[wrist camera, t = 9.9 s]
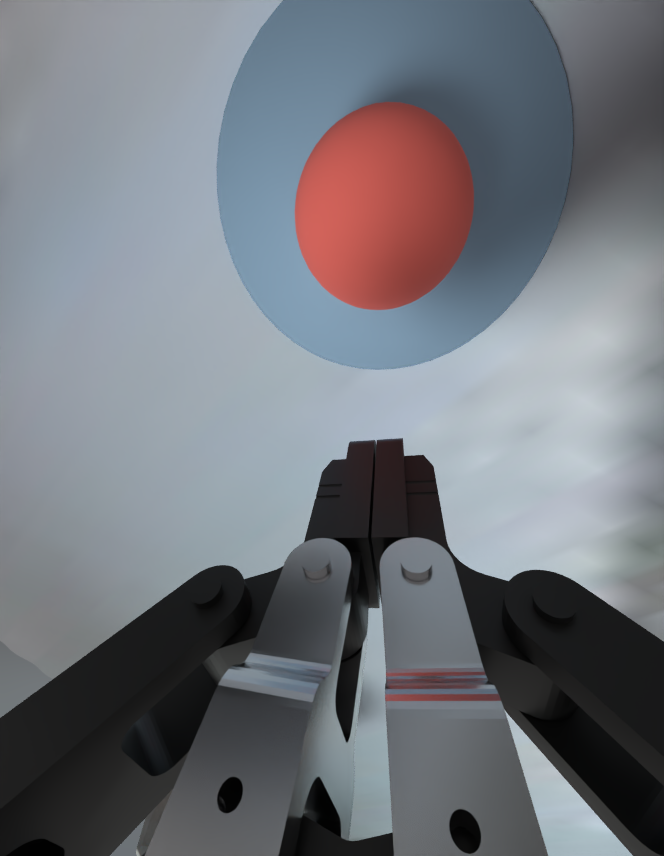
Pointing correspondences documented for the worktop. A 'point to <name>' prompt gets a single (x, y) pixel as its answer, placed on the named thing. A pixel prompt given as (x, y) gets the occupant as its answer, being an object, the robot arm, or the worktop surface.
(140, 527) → the worktop surface
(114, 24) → the worktop surface
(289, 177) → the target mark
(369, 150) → the ball
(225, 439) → the worktop surface
